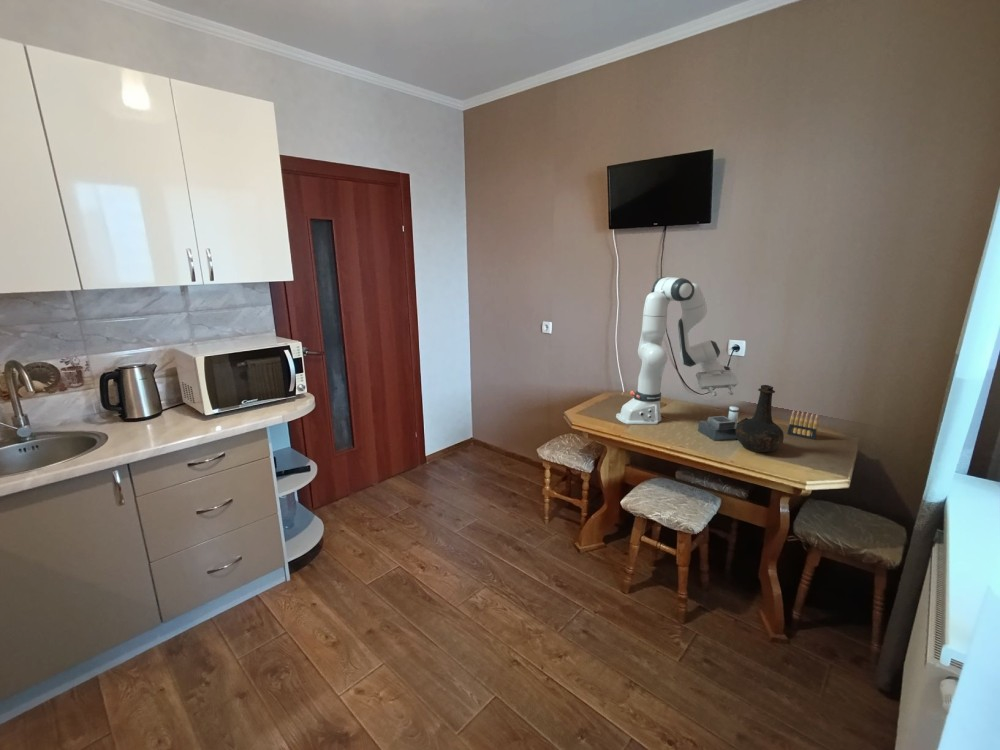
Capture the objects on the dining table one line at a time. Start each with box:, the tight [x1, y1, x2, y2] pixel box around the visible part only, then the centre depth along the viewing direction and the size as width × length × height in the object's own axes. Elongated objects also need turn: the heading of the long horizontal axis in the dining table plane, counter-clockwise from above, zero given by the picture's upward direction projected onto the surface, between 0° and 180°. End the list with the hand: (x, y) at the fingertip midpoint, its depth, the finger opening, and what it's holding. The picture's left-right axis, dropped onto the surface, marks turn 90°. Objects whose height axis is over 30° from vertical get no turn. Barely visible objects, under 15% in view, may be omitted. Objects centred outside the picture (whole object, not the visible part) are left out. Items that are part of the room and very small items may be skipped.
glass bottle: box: [735, 384, 785, 453], centre depth 184 cm, size 18×18×28 cm
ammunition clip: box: [786, 409, 819, 441], centre depth 198 cm, size 11×2×12 cm, turn 49°
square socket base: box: [697, 415, 738, 442], centre depth 201 cm, size 14×12×8 cm
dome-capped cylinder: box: [727, 405, 740, 425], centre depth 213 cm, size 4×4×9 cm
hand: (723, 394), depth 219 cm, fingers open, 8 cm apart
